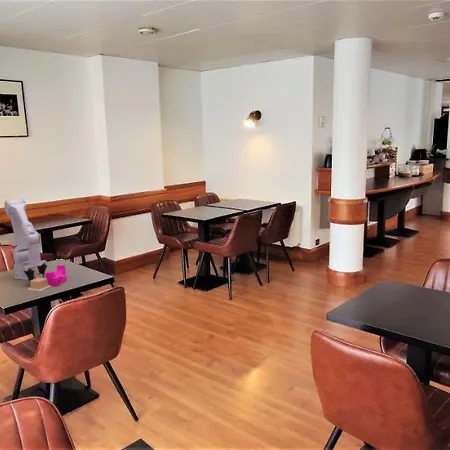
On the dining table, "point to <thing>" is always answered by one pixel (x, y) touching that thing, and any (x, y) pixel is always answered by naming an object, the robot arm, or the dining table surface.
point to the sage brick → (38, 276)
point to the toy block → (56, 276)
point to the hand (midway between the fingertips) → (36, 280)
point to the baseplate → (39, 289)
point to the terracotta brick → (39, 283)
